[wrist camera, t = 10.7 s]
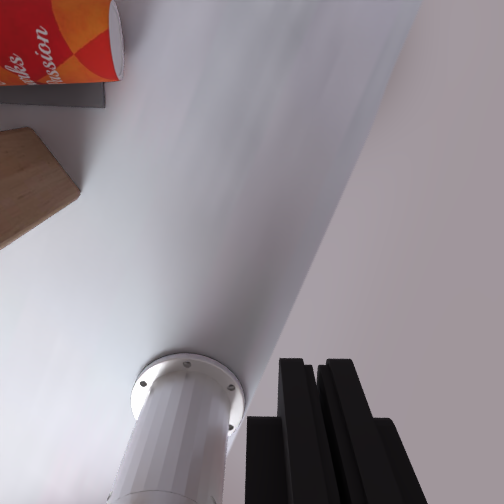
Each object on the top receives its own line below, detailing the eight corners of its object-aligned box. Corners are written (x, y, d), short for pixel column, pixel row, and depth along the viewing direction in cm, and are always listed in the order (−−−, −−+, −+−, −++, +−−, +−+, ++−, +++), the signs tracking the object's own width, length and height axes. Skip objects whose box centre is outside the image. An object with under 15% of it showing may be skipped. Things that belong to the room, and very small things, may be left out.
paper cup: (127, 109, 36) (-50, 106, 35) (125, 19, 36) (-50, 12, 35) (105, 68, 28) (-124, 62, 27) (103, -46, 28) (-124, -59, 27)
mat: (105, 107, 37) (103, 107, 37) (-68, 99, 37) (-72, 99, 37) (89, -89, 32) (87, -92, 32) (-110, -98, 32) (-116, -101, 32)
